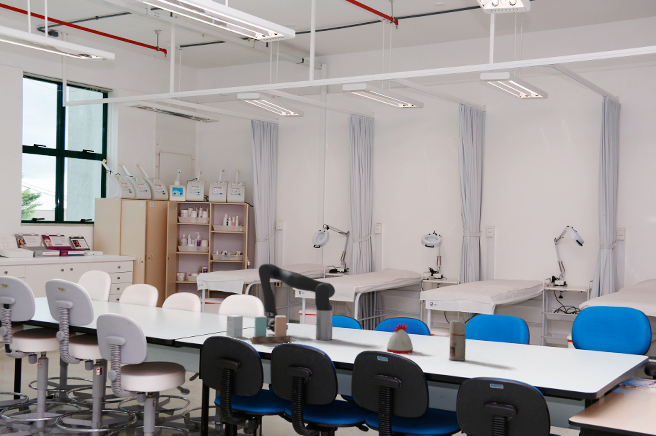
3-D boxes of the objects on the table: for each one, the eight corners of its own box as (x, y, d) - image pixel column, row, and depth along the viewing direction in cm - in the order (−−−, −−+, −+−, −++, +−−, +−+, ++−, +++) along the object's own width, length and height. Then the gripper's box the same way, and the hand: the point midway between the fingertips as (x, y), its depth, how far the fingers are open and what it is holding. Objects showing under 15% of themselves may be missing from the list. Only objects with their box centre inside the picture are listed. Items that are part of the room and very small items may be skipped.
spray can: (447, 358, 336) (447, 319, 336) (462, 358, 336) (463, 319, 337) (451, 361, 327) (452, 321, 328) (467, 361, 328) (468, 321, 328)
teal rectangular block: (264, 341, 370) (265, 315, 370) (266, 342, 365) (266, 316, 365) (254, 341, 368) (254, 315, 369) (255, 342, 364) (256, 316, 364)
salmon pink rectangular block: (284, 341, 373) (285, 315, 373) (286, 342, 368) (286, 316, 368) (274, 341, 371) (275, 315, 372) (275, 342, 367) (276, 316, 367)
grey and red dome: (418, 352, 350) (418, 324, 351) (397, 354, 344) (397, 325, 344) (402, 348, 362) (403, 321, 363) (382, 350, 356) (382, 322, 356)
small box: (242, 338, 385) (243, 316, 386) (233, 339, 381) (233, 316, 382) (235, 336, 391) (235, 314, 392) (226, 337, 387) (226, 315, 388)
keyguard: (285, 340, 380) (285, 332, 380) (290, 344, 366) (290, 336, 366) (249, 341, 375) (249, 333, 375) (252, 345, 361) (252, 336, 361)
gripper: (264, 319, 388) (268, 322, 371) (286, 318, 391) (291, 322, 374) (264, 331, 388) (268, 336, 371) (286, 331, 391) (291, 335, 374)
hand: (279, 329), depth 372 cm, fingers closed
